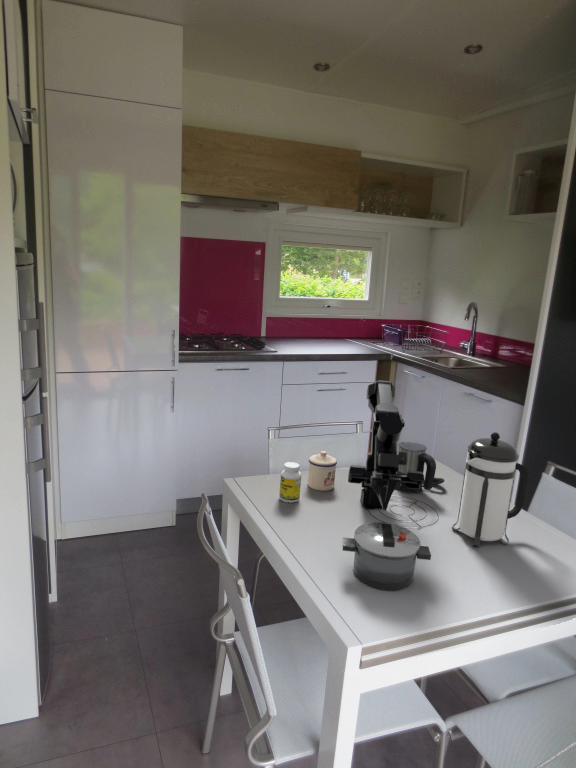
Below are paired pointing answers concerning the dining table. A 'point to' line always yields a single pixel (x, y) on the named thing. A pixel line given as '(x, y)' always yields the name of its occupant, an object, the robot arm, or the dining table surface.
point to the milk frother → (418, 465)
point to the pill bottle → (290, 483)
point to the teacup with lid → (321, 471)
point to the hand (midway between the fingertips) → (384, 509)
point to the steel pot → (384, 567)
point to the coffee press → (489, 489)
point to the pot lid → (387, 540)
